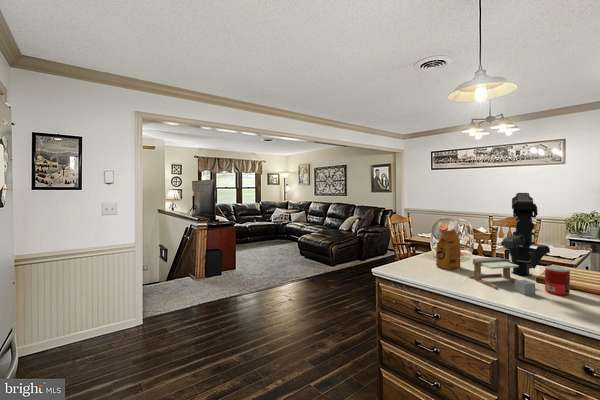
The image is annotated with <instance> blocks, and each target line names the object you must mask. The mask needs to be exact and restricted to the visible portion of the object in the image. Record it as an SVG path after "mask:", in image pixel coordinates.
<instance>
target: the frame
mask: <svg viewBox="0 0 600 400" xmlns="http://www.w3.org/2000/svg"><path fill="white" fill-rule="evenodd" d="M504 259H505V261H506V262H509V263H511V260H510V259H507V258H504ZM473 265H474V266H473V272H474V274H472V275H469V278H470V279H473V280H474V281H476V282H479V283H481V284H483V285H485V286H487V287H490V288H492V289H494V290H498V289H499V288H498V287H499V286H498V285H496V284H493V283H491V282H489V281H486V280H484V279H486V278H497V277H498V278H499V277H502V278H503V279H505V280H508V281H511V282H514V283H515V280H518V279H517V278H513V277H511V268H502V273H489V274H488V273H487V274H482V266H481V262H479V261H474V264H473ZM483 278H484V279H483Z"/></svg>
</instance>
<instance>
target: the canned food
mask: <svg viewBox="0 0 600 400" xmlns="http://www.w3.org/2000/svg"><path fill="white" fill-rule="evenodd" d="M570 278H571V270H570V268H568V267H564V266H557V265H545V267H544V289H545V292H546V293H547V294H550V295H554V296H559V297H567V296H569V295H570V290H571V289H570V288H571V285H570V284H571V283H570V280H571V279H570Z"/></svg>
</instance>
